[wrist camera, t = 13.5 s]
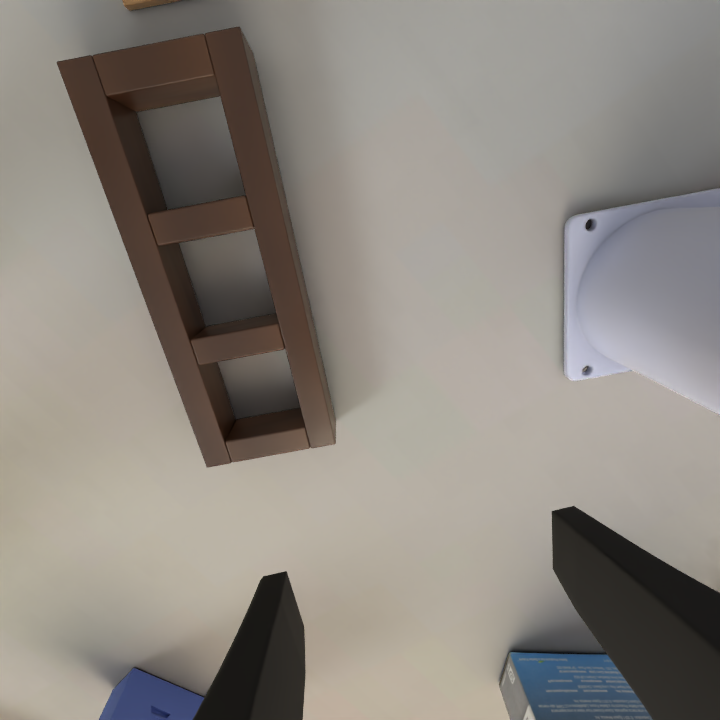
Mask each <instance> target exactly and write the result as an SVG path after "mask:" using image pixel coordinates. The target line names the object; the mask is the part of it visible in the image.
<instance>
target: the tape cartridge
mask: <svg viewBox="0 0 720 720" xmlns="http://www.w3.org/2000/svg"><path fill="white" fill-rule="evenodd" d="M499 686H500V690H501V693H502V696H503V699H504V702H505V705H506V708H507V711H508V714H509V717H510V720H653V719H652V717H651V716H650V714H649V713H648V711H647V710H646V708H645V707H644V705H643V704H642V703H641V701H640V700H639V698H638V697H637V696H636V694H635V693H634V691H633V690H632V689H631V687H630V686H629V684H628V683H627V681H626V680H625V679H624V677H623V676H622V674H621V673H620V672H619V670H618V669H617V667H616V666H615V665H614V663H613V662H612V660H611V659H610V658H609V656H608V655H607V654H549V653H520V652H510V653H509V655H508V657H507V660H506V664H505V667H504V670H503V674H502V677H501V680H500V683H499Z"/></svg>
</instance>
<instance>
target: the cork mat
mask: <svg viewBox="0 0 720 720" xmlns="http://www.w3.org/2000/svg"><path fill="white" fill-rule="evenodd" d="M122 1H123V4H124V6H125V7H126V8H127V9H128V10H130V11H131V10H136V9H141V8H146V7H151V6H156V5H161V4H166V3H172V2H177V1H182V0H122Z"/></svg>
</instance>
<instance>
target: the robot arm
mask: <svg viewBox="0 0 720 720" xmlns="http://www.w3.org/2000/svg"><path fill="white" fill-rule="evenodd" d="M589 219H590V220H591V222H592V224H591V227H590V228H589V229H588V230H587V229H586V227H585V224H586V222H587V221H588V220H589ZM585 366H588V368H587V370H586V371H585V372H582V370H583V368H584V367H585ZM628 371H635V372H637V373H639V374H641V375H643V376H645V377H646V378H648V379H650V380H652V381H654V382H656V383H658V384H660V385H662V386H664V387H666V388H668V389H670V390H672V391H674V392H676V393H678V394H679V395H681V396H683V397H685V398H687V399H689V400H691V401H693V402H695V403H697V404H699V405H701V406H703V407H705V408H707V409H709V410H710V411H712V412H714V413H716V414H718V415H720V188H716V189H710V190H705V191H700V192H694V193H689V194H684V195H678V196H673V197H668V198H662V199H657V200H652V201H646V202H641V203H636V204H630V205H625V206H620V207H614V208H609V209H604V210H599V211H593V212H588V213H583V214H577V215H574V216H571V217H570V218H569V219H568V220H567V222H566V224H565V228H564V375H565V376H566V377H567V378H568V379H570V380H572V381H579V380H585V379H590V378H596V377H601V376H607V375H612V374H617V373H623V372H628ZM552 542H553V570H554V572H555V574H556V575H557V577H558V579H559V581H560V583H561V585H562V586H563V588H564V590H565V592H566V593H567V595H568V597H569V599H570V600H571V602H572V604H573V606H574V607H575V609H576V610H577V612H578V613H579V615H580V616H581V618H582V619H583V621H584V622H585V624H586V625H587V626H588V628H589V629H590V631H591V632H592V633H593V635H594V636H595V638H596V639H597V641H598V642H599V643H600V645H601V646H602V648H603V649H604V651H605V652H606V653H607V655H608V656H609V658H610V659H611V660H612V662H613V663H614V665H615V666H616V667H617V669H618V670H619V672H620V673H621V674H622V676H623V677H624V679H625V680H626V681H627V683H628V684H629V686H630V687H631V689H632V690H633V691H634V693H635V694H636V696H637V697H638V698H639V700H640V701H641V703H642V704H643V705H644V707H645V708H646V710H647V711H648V713H649V714H650V716H651V717H652V719H653V720H720V593H719V592H717V591H715V590H713V589H711V588H709V587H708V586H706V585H704V584H702V583H700V582H698V581H697V580H695V579H693V578H691V577H689V576H688V575H686V574H684V573H682V572H681V571H679V570H677V569H675V568H674V567H672V566H670V565H668V564H667V563H665V562H663V561H662V560H660V559H658V558H657V557H655V556H653V555H652V554H650V553H648V552H647V551H645V550H643V549H642V548H640V547H638V546H637V545H635V544H634V543H632V542H630V541H629V540H627V539H625V538H624V537H622V536H621V535H619V534H617V533H616V532H614V531H613V530H611V529H609V528H608V527H606V526H605V525H603V524H602V523H600V522H598V521H597V520H595V519H594V518H592V517H590V516H589V515H587V514H586V513H584V512H582V511H581V510H579V509H578V508H576V507H574V506H572V507H568V508H563V509H559V510H555V511H552ZM304 688H305V639H304V625H303V622H302V619H301V616H300V612H299V609H298V606H297V603H296V600H295V597H294V593H293V590H292V587H291V584H290V581H289V578H288V574H287V571H285V572H281V573H277V574H272V575H268V576H263V578H262V579H261V580H260V583H259V585H258V587H257V590H256V592H255V594H254V597H253V599H252V601H251V604H250V606H249V608H248V611H247V613H246V615H245V617H244V619H243V622H242V624H241V626H240V628H239V630H238V633H237V635H236V637H235V639H234V641H233V643H232V645H231V647H230V649H229V651H228V653H227V655H226V657H225V659H224V661H223V663H222V665H221V667H220V669H219V671H218V673H217V675H216V677H215V679H214V681H213V683H212V685H211V686H210V688H209V690H208V692H207V694H206V696H205V698H204V699H203V701H202V703H201V705H200V707H199V709H198V711H197V712H196V714H195V716H194V718H193V720H302V719H303V704H304Z"/></svg>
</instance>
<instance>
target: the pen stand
mask: <svg viewBox="0 0 720 720" xmlns="http://www.w3.org/2000/svg"><path fill="white" fill-rule="evenodd" d="M57 65H58V67H59V70H60V73H61V76H62V78H63V81H64V84H65V86H66V89H67V92H68V94H69V97H70V100H71V102H72V105H73V108H74V111H75V113H76V116H77V119H78V121H79V124H80V127H81V129H82V132H83V135H84V137H85V140H86V143H87V146H88V148H89V151H90V154H91V156H92V159H93V162H94V164H95V167H96V170H97V172H98V175H99V178H100V181H101V183H102V186H103V189H104V191H105V194H106V197H107V199H108V202H109V205H110V208H111V210H112V213H113V216H114V218H115V221H116V224H117V226H118V229H119V232H120V234H121V237H122V240H123V243H124V245H125V248H126V251H127V253H128V256H129V259H130V261H131V264H132V267H133V269H134V272H135V275H136V278H137V280H138V283H139V286H140V288H141V291H142V294H143V296H144V299H145V302H146V304H147V307H148V310H149V313H150V315H151V318H152V321H153V323H154V326H155V329H156V331H157V334H158V337H159V340H160V342H161V345H162V348H163V350H164V353H165V356H166V358H167V361H168V364H169V366H170V369H171V372H172V375H173V377H174V380H175V383H176V385H177V388H178V391H179V393H180V396H181V399H182V401H183V404H184V407H185V410H186V412H187V415H188V418H189V420H190V423H191V426H192V428H193V431H194V434H195V436H196V439H197V442H198V445H199V447H200V450H201V453H202V455H203V458H204V461H205V463H206V466H207V467H213V466H218V465H223V464H229V463H232V462H238V461H243V460H249V459H254V458H260V457H265V456H270V455H276V454H281V453H287V452H292V451H298V450H303V449H309V448H310V447H311V448H316V447H321V446H327V445H332V444H335V443H336V420H335V415H334V411H333V406H332V402H331V397H330V393H329V388H328V384H327V380H326V375H325V371H324V366H323V362H322V357H321V353H320V348H319V344H318V339H317V335H316V331H315V326H314V322H313V317H312V313H311V308H310V304H309V299H308V295H307V291H306V286H305V282H304V277H303V273H302V268H301V264H300V259H299V255H298V250H297V246H296V242H295V237H294V233H293V228H292V224H291V219H290V215H289V210H288V206H287V202H286V197H285V193H284V188H283V184H282V179H281V175H280V170H279V166H278V161H277V157H276V153H275V148H274V144H273V139H272V135H271V130H270V126H269V121H268V117H267V112H266V108H265V104H264V99H263V95H262V90H261V86H260V81H259V77H258V72H257V68H256V64H255V59H254V55H253V52H252V50H251V48H250V46H249V44H248V42H247V40H246V38H245V36H244V34H243V33H242V31H241V29H240V27H234V28H229V29H224V30H219V31H214V32H209V33H205V35H204V34H198V35H193V36H188V37H183V38H178V39H173V40H168V41H162V42H157V43H152V44H147V45H142V46H137V47H132V48H126V49H121V50H116V51H111V52H106V53H101V54H96V55H93V56H91V55H90V56H84V57H79V58H74V59H69V60H64V61H59V62H57ZM218 96H221V100H222V104H223V108H224V112H225V116H226V119H227V123H228V127H229V131H230V135H231V139H232V143H233V147H234V151H235V155H236V158H237V162H238V166H239V170H240V174H241V178H242V182H243V186H244V190H245V193H246V196H244V195H243V196H238V197H232V198H227V199H222V200H217V201H211V202H206V203H201V204H196V205H190V206H185V207H180V208H174V209H169V210H167V207H166V204H165V201H164V197H163V194H162V191H161V188H160V185H159V182H158V179H157V176H156V173H155V170H154V167H153V164H152V160H151V157H150V154H149V151H148V148H147V145H146V142H145V139H144V136H143V133H142V130H141V127H140V124H139V120H138V117H137V114H136V112H140V111H145V110H150V109H155V108H161V107H166V106H171V105H176V104H181V103H187V102H192V101H197V100H202V99H207V98H213V97H218ZM251 229H255V232H256V236H257V240H258V244H259V248H260V252H261V256H262V260H263V264H264V267H265V271H266V275H267V279H268V283H269V287H270V291H271V295H272V299H273V303H274V306H275V310H276V313H275V314H270V315H265V316H259V317H254V318H249V319H243V320H238V321H233V322H227V323H222V324H217V325H211V326H207V327H205V324H204V321H203V318H202V314H201V311H200V308H199V305H198V302H197V299H196V296H195V293H194V290H193V287H192V284H191V281H190V277H189V274H188V271H187V268H186V265H185V262H184V259H183V256H182V253H181V250H180V247H179V244H178V243H182V242H187V241H193V240H198V239H203V238H209V237H214V236H219V235H225V234H230V233H235V232H240V231H246V230H251ZM283 349H286V353H287V357H288V361H289V365H290V369H291V373H292V377H293V380H294V384H295V388H296V392H297V396H298V400H299V404H300V408H296V409H291V410H286V411H280V412H275V413H269V414H264V415H258V416H253V417H248V418H242V419H237V420H236V419H235V416H234V413H233V410H232V407H231V404H230V401H229V398H228V395H227V391H226V388H225V385H224V382H223V379H222V376H221V373H220V370H219V367H218V364H217V362H219V361H225V360H230V359H235V358H241V357H246V356H251V355H257V354H262V353H268V352H273V351H278V350H283Z"/></svg>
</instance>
